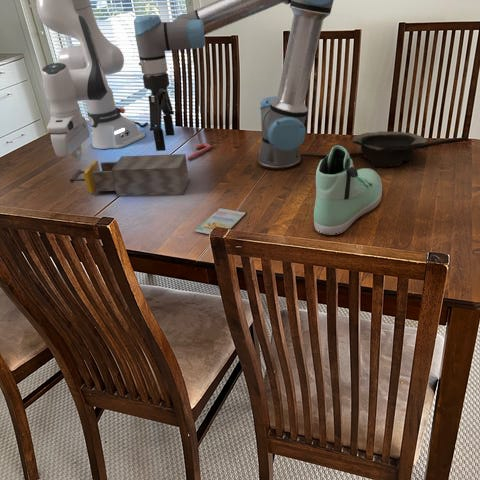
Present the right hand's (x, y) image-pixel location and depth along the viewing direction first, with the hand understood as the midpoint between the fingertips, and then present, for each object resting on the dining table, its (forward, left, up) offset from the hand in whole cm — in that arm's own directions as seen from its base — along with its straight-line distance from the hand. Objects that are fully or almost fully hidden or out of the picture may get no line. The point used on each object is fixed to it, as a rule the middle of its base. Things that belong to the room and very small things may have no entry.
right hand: (165, 142), depth 152 cm
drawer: (+18, -8, -15) cm, 25 cm away
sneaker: (-43, +39, -16) cm, 61 cm away
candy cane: (-16, -26, -16) cm, 34 cm away
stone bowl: (-74, +13, -16) cm, 77 cm away
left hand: (+28, -13, -5) cm, 31 cm away
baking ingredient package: (-7, +30, -16) cm, 35 cm away
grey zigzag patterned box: (+6, -3, -16) cm, 17 cm away
